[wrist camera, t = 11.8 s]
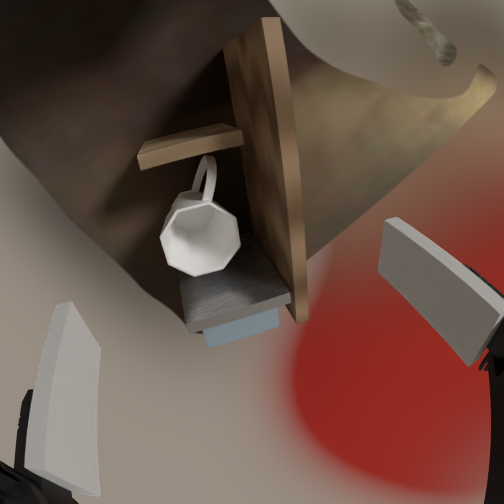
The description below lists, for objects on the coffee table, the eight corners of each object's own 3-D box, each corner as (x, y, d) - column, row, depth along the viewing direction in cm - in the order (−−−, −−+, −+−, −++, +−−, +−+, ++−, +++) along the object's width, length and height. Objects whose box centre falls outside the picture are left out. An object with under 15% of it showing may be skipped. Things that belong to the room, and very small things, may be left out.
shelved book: (186, 261, 34) (200, 325, 25) (243, 245, 35) (276, 301, 26) (193, 282, 35) (209, 348, 26) (247, 266, 37) (279, 326, 27)
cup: (155, 234, 31) (155, 274, 24) (170, 144, 27) (172, 158, 20) (216, 240, 34) (232, 279, 27) (236, 155, 29) (260, 173, 23)
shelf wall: (222, 48, 23) (261, 17, 13) (234, 47, 23) (279, 17, 13) (257, 259, 36) (296, 323, 26) (266, 257, 37) (308, 319, 27)
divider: (143, 142, 26) (136, 155, 19) (221, 122, 27) (241, 129, 21) (146, 153, 26) (140, 170, 20) (223, 133, 28) (244, 144, 21)
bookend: (175, 252, 33) (185, 323, 23) (249, 231, 34) (290, 292, 24) (180, 269, 34) (193, 342, 24) (252, 249, 36) (291, 312, 26)
